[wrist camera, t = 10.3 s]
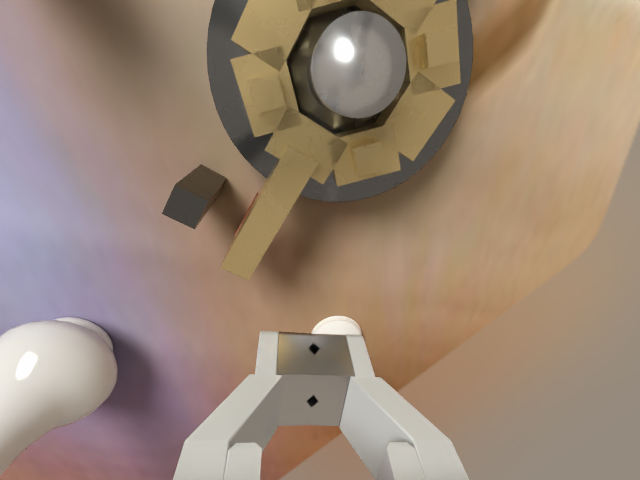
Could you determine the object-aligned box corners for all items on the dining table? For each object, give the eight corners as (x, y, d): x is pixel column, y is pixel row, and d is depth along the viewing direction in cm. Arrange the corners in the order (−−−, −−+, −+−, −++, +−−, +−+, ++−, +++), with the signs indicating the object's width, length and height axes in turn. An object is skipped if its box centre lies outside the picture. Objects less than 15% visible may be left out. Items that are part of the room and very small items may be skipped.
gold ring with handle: (309, -116, 16) (313, -163, 13) (483, 37, 19) (518, 26, 16) (158, 219, 22) (138, 238, 19) (310, 291, 25) (313, 316, 22)
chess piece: (300, 341, 31) (304, 441, 22) (333, 306, 30) (351, 398, 21) (339, 363, 33) (357, 465, 24) (371, 331, 32) (404, 426, 23)
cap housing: (292, -149, 18) (294, -319, 10) (497, 33, 22) (600, 3, 15) (148, 192, 24) (88, 233, 17) (328, 280, 29) (341, 342, 22)
